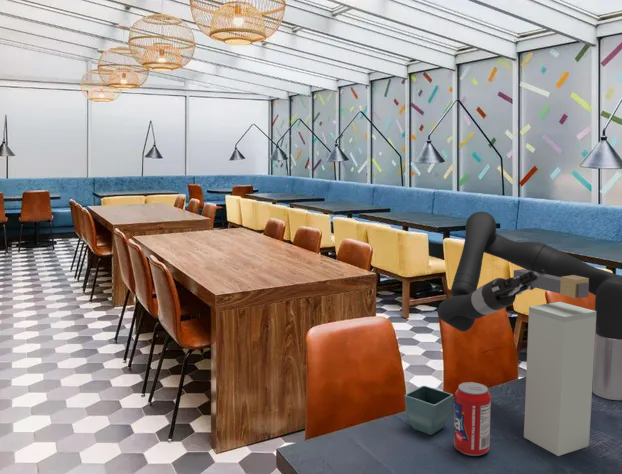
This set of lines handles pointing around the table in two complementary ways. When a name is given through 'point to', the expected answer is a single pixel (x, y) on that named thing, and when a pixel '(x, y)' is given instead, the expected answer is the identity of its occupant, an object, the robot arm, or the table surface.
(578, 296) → the steel handle bar
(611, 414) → the table surface
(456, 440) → the soda can
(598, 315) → the robot arm
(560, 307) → the sage pedestal
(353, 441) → the table surface
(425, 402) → the flower pot
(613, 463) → the table surface
